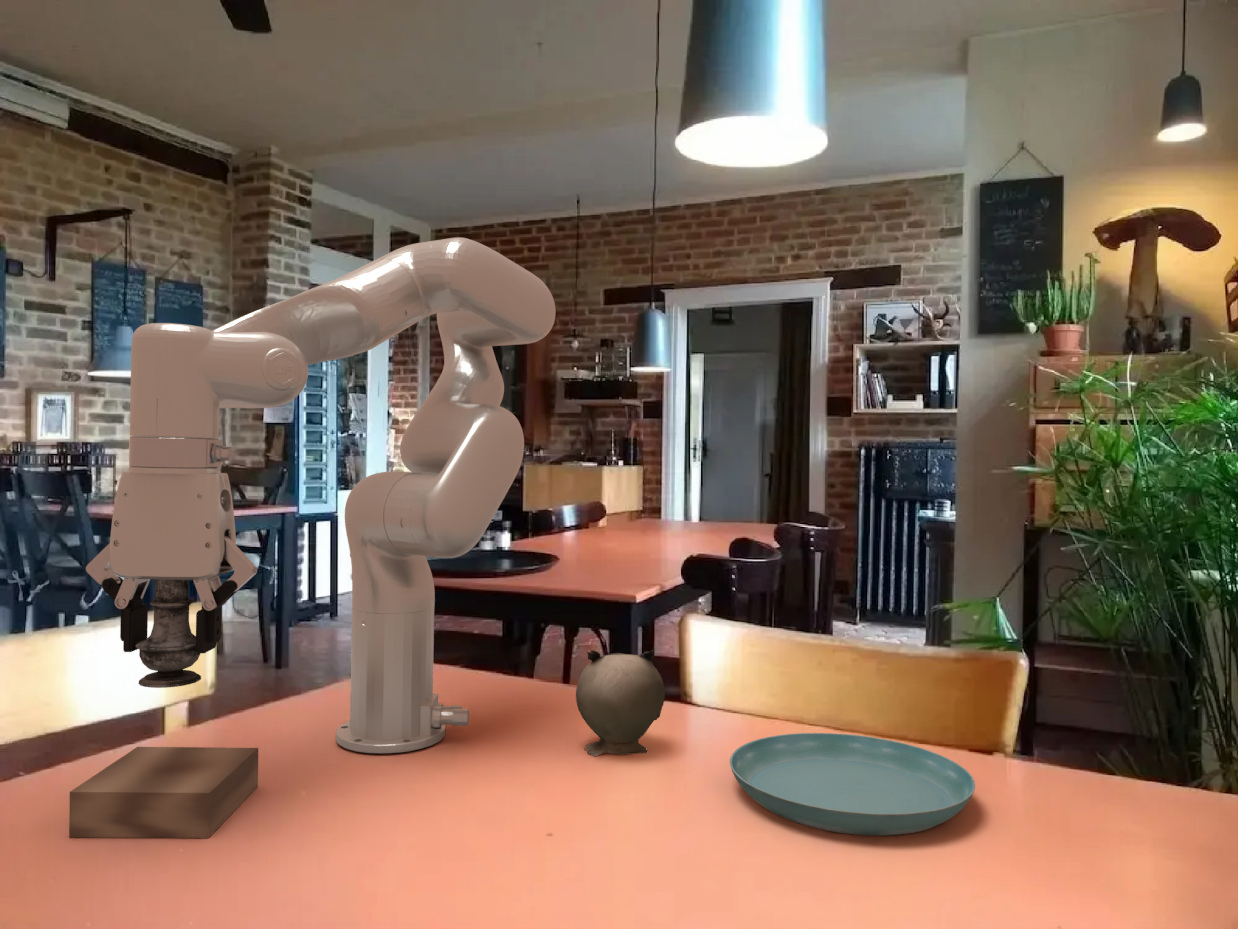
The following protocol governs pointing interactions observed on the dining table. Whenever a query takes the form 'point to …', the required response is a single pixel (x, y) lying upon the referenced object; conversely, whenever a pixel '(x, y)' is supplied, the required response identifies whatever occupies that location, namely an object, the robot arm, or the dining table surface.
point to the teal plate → (852, 782)
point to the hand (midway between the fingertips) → (170, 647)
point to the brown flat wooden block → (164, 793)
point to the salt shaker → (170, 638)
